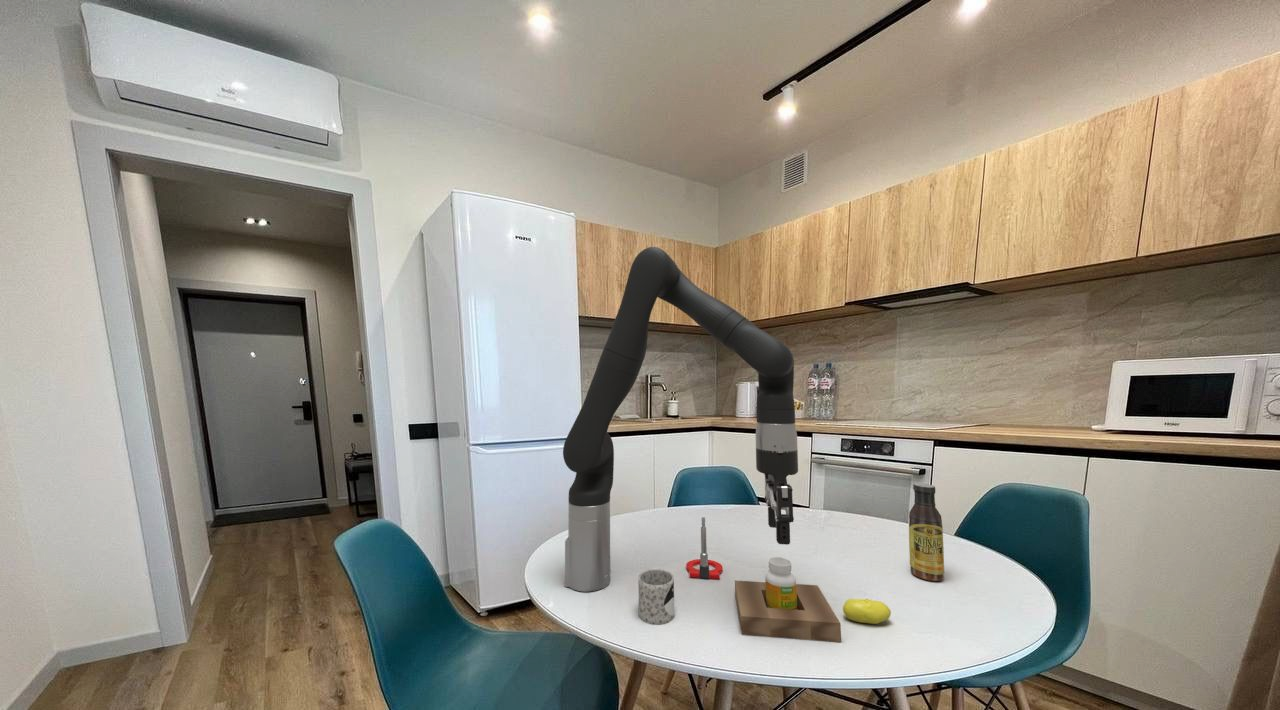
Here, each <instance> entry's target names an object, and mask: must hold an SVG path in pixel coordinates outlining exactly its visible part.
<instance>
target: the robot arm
mask: <svg viewBox="0 0 1280 710" xmlns="http://www.w3.org/2000/svg"><path fill="white" fill-rule="evenodd" d="M657 299H660V300H662V301H665V302H667V303H668V304H670V305H672V306H673V307H675V308H677V309H679V310H680V311H681V312H683V313H684V314H685V315H687V316H688V317H689V318H691V320H692V321H694V322H695V323H696V324H697V325H698V326H700V328H702V329H703V330H704V332H706V333H708V334H709V335H710V336H711V337H712V338H714V339H715V340H716V341H718V342H719V343H720V344H722V346H725V348H727V349H728V350H730V351H732V352H733V353H735V354H736V355H737V356H739V357H740V358H741V359H742V360H743V361H744V362H746V364H748V365H749V366H750V367H751V368H752V369H753V370H755V371H756V372H757V375H758V377H757V379H758V394H757V395H756V402H755V403H756V406H755V407H756V409H755V411H756V428H755V460H756V461H755V467H756V471H758V472H759V473H761V474H764V500H765V503H766V507H767V521H768V523H767V524H768V526H769V527H770V528H774V529H775V534H776V535H775V537H776V539H775V540H776V542H777V544H778V545H785V546H786V545H790V544H791V528H790V527H791V526H790V524H791V523H794V519H795V518H794V506H793V505H794V504H793V503H794V501H793V490H794V489H793V488H792V485H790V483H789V484H788V479H787V477H788V476H794V475H797V474H798V472H799V463H798V462H799V459H798V458H799V456H798V455H799V454H798V433H797V428H796V410H795V409H796V407H795V399H794V378H795V377H794V376H795V360H794V356H793V353H792V352H791V350H790V348H789V347H788V346H787V345H785V344H784V343H783V342H781V341H780V340H779V339H777V338H776V337H774V336H772V335H770V334H769V333H767V332H766V331H764V330H763V329H761V328H759V327H757V326H756V325H755V323H753V322H752V321H751V320H749V319H748V318H747V317H745V316H744V315H742V313H740V312H738V311H737V310H736V309H734V308H733V307H731V306H729V305H728V304H727V303H725V302H723V301H721V300H719V299H718V298H716V297H714V296H713V295H710V294H708V293H707V292H705V291H704V290H702V289H701V288H699V287H698V286H697V285H696V284H695V283H693V282H692V281H691V280H690V279H689V278H688V277H687V275H685V274H684V272H682V270H680V268H679V267H678V265H677V263H676V262H675V261H674V260H673V258H672V257H671V256H670V255H669V254H668V253H667V252H666V251H665V250H663V249H662V248H660V247H657V246H649V247H646V248H644V249H642V250H641V251H640V252H639V253H638V254H637V255H636V256H635V258H634V259H633V262H632V264H631V266H630V270H629V273H628V277H627V281H626V284H625V287H624V291H623V295H622V300H621V303H620V306H619V308H618V311H617V314H616V316H615V319H614V321H613V324H612V326H611V330H610V333H609V335H608V337H607V340H606V343H605V344H604V346H603V349H602V353H601V355H600V357H599V360H598V362H597V366H596V368H595V372H594V373H593V376H592V379H591V381H590V384H589V387H588V390H587V392H586V396H585V398H584V401H583V404H582V406H581V409H580V410H579V412H578V415H577V417H576V418H575V420H574V422H573V424H572V427H571V428H570V430H569V432H568V434H567V436H566V438H565V441H564V443H563V447H562V449H563V450H562V458H563V460H564V464H565V465H566V467H567V468H568V469H569V470H570V471H571V472H573V473H576V474H575V478H574V480H573V483H572V484H571V486H570V487H569V489H568V509H567V510H568V512H567V513H568V515H567V516H568V517H567V518H568V526H567V527H568V529H567V530H568V531H567V532H568V534H567V535H568V537H567V538H566V539H565V541H564V587H565V588H567V587H568V588H571V589H572V590H574V591H577V592H583V593H585V592H595V591H598V590H602V589H604V588H605V587H607V586H609V584H610V583H611V571H612V570H611V493H612V492H611V491H612V489H613V484H614V468H615V467H614V465H615V464H614V463H615V462H614V461H615V450H614V448H615V447H614V443H613V440H612V437H611V435H610V434H609V432H608V430H609V427H610V424H611V423H612V422H611V421H612V419H613V417H614V415H615V413H616V412H617V410H618V409H619V407H620V406H621V405H622V403H623V402H624V400H625V399H626V397H627V396H628V395H629V393H630V392H631V390H632V389H633V386H634V385H635V383H636V381H637V378H638V375H639V373H640V371H641V368H642V366H643V363H644V361H645V357H646V353H647V347H648V336H649V335H648V334H649V323H650V319H651V314H652V311H653V309H654V306H655V303H656V301H657ZM783 510H784V511H785V514H784V513H782V511H783Z"/></svg>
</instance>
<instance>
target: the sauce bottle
mask: <svg viewBox="0 0 1280 710" xmlns="http://www.w3.org/2000/svg"><path fill="white" fill-rule="evenodd" d="M912 485H913V492H914V504H913V506H912V507H911V509H910V511H909V512H908V513H909V514H908V520H909V521H908V523H909V524H908V542H909V543H908V546H909V565H910V572H911V574H912V575H913V576H915V577H917V578H919V579H922V580H924V581H929V582H942V581H943V580H944V577H945V576H944V574H945V555H944V554H945V551H944V549H945V548H944V530H943V520H942V515H941V513H940V512H939V511H938V509H937V507H936V499H935V498H936V497H935V496H936V495H935V494H936V486H935V485H933V484H929V483H922V482H915V483H913V484H912Z"/></svg>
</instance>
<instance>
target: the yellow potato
mask: <svg viewBox="0 0 1280 710" xmlns="http://www.w3.org/2000/svg"><path fill="white" fill-rule="evenodd" d="M842 612H843V614H844V616H845V617H846V618H847V619H848V620H850V621H853V622H857V623H862V624H863V623H864V624H870V625H871V624H872V625H878V624H880V623H883V622H885V621H887V620H889V619H890V617H891V616H892V615H891V614H892V612H891V609H890V608H889V607H888V606H887V604H885V602H882V601H880V600H872V599H869V598H865V599H864V598H849V599H847V600H846V601H845V602H844V603H843V607H842Z"/></svg>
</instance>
